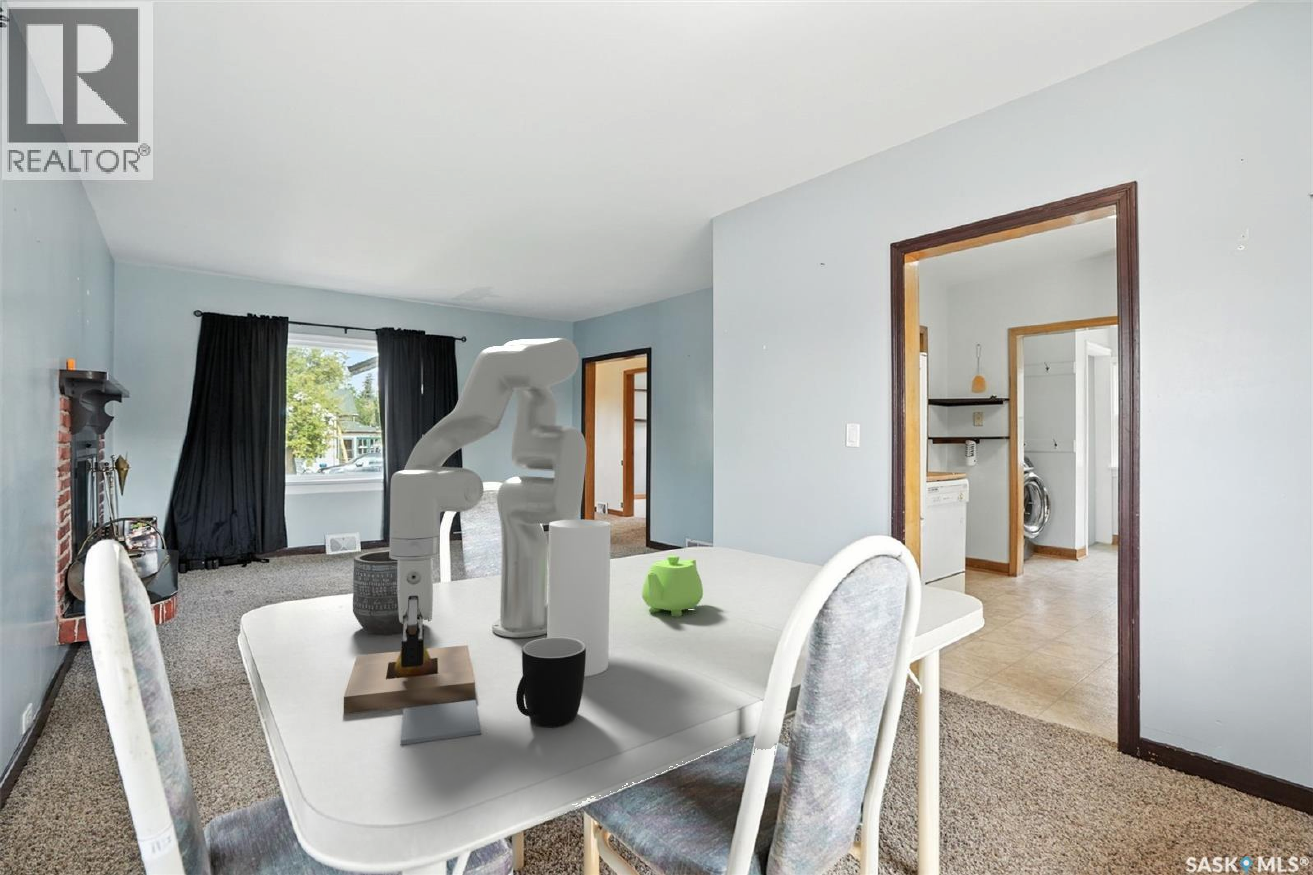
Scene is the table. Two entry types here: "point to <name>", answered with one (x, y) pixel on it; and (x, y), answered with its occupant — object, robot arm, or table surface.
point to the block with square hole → (409, 681)
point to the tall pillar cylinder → (580, 587)
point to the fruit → (416, 670)
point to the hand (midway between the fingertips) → (412, 656)
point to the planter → (376, 593)
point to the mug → (551, 680)
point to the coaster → (439, 722)
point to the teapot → (672, 586)
